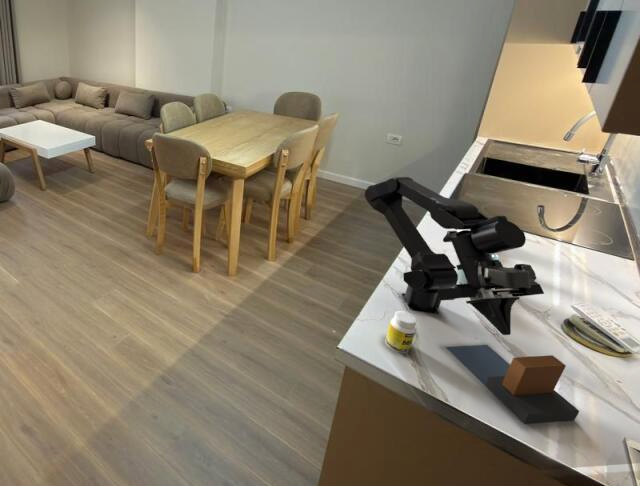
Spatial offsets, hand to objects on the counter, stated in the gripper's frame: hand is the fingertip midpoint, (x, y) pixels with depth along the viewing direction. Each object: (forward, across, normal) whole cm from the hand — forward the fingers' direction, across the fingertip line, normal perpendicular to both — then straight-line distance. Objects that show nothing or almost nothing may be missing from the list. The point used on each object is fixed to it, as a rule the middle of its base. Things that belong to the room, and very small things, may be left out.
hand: (506, 334), depth 80 cm
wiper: (+12, 0, +2) cm, 12 cm away
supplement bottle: (+2, -15, +13) cm, 20 cm away
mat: (+9, 0, +5) cm, 10 cm away
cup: (-13, +21, +27) cm, 36 cm away
